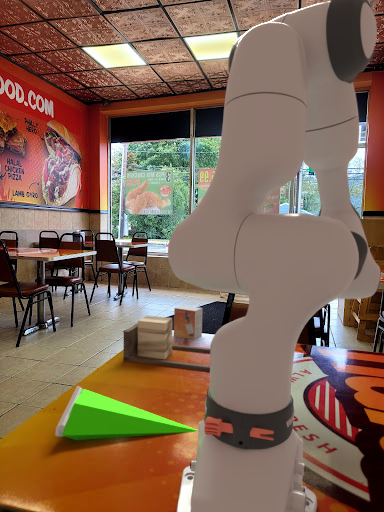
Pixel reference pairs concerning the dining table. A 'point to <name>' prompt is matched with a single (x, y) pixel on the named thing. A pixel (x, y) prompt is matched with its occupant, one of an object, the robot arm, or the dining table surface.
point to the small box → (188, 322)
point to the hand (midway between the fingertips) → (241, 274)
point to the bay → (132, 350)
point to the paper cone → (110, 419)
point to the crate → (155, 337)
